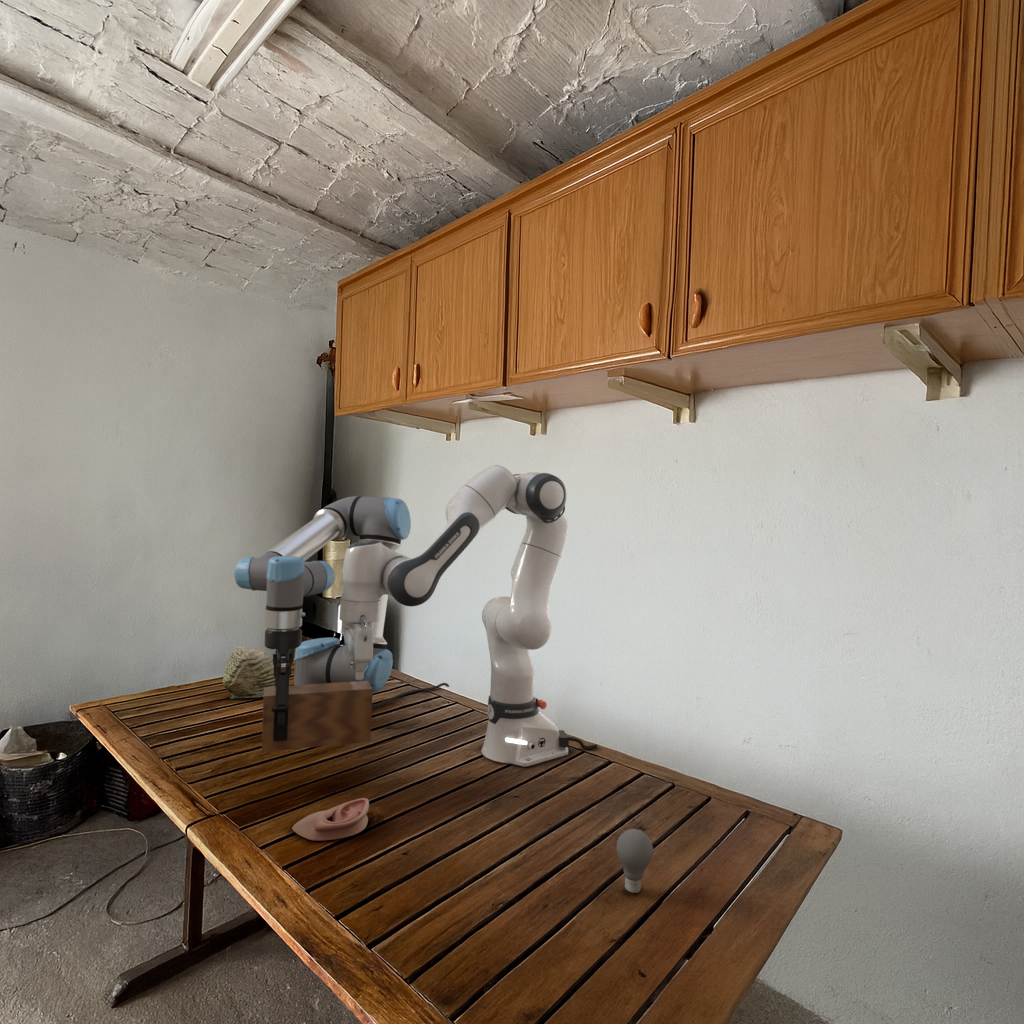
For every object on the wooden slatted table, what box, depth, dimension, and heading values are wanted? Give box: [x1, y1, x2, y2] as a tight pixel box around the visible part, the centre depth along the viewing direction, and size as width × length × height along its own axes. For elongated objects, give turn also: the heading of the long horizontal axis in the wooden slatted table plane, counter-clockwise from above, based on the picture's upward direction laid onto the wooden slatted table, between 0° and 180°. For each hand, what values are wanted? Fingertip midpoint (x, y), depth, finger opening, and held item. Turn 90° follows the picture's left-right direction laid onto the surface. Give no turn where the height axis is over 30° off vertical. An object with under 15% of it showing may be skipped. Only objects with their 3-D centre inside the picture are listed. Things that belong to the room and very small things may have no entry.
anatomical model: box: [291, 797, 370, 842], centre depth 122 cm, size 13×4×12 cm
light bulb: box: [615, 828, 654, 894], centre depth 106 cm, size 6×6×10 cm
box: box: [261, 681, 373, 753], centre depth 140 cm, size 23×6×12 cm, turn 111°
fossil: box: [222, 646, 275, 699], centre depth 198 cm, size 9×18×15 cm, turn 132°
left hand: (279, 733), depth 137 cm, fingers closed on box, 6 cm apart
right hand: (356, 673), depth 143 cm, fingers open, 8 cm apart
